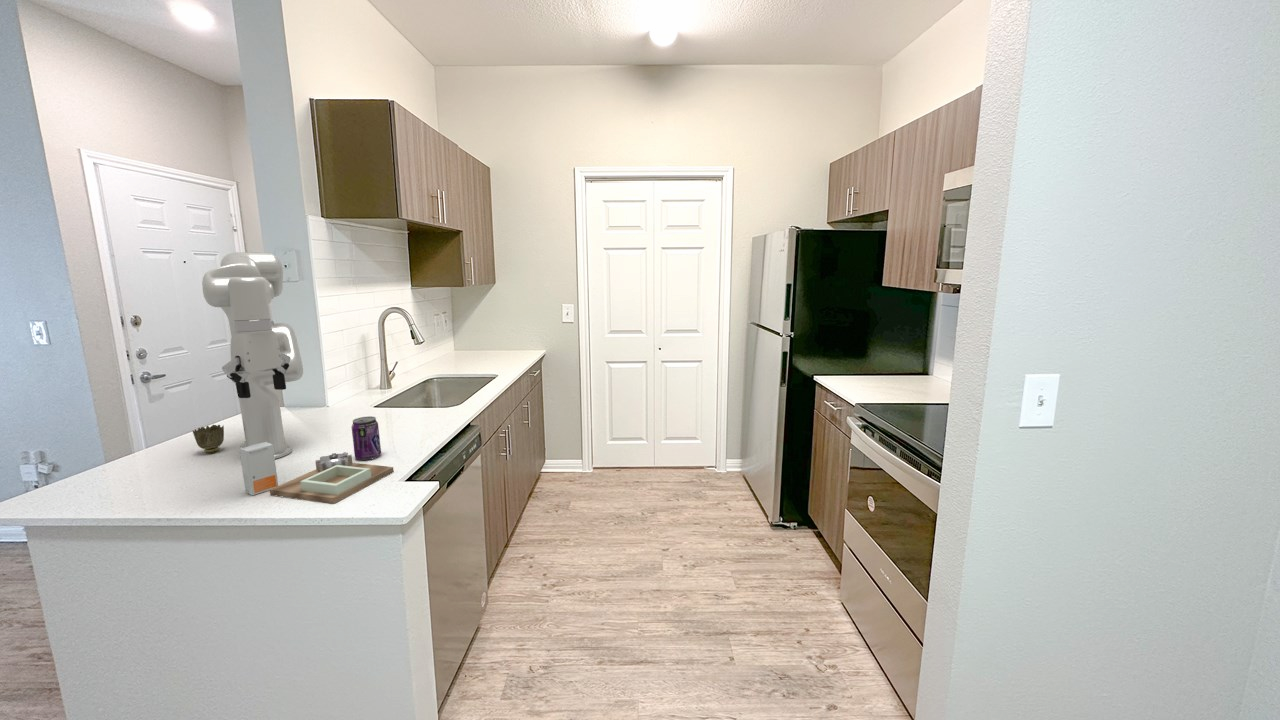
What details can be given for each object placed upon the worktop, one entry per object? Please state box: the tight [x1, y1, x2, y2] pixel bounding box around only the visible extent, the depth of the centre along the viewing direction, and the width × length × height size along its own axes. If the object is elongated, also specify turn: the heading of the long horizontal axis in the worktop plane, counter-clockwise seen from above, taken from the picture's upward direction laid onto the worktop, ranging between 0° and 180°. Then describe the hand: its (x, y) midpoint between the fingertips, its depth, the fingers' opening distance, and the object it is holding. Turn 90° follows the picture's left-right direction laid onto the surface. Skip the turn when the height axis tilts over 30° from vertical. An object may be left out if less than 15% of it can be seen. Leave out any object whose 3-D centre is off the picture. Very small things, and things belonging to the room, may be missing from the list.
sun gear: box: [314, 452, 353, 472], centre depth 140 cm, size 9×9×4 cm
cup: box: [192, 424, 225, 454], centre depth 157 cm, size 8×7×8 cm
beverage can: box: [351, 416, 382, 461], centre depth 151 cm, size 7×7×12 cm
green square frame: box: [300, 465, 371, 495], centre depth 129 cm, size 11×11×2 cm
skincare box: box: [239, 442, 279, 496], centre depth 129 cm, size 6×4×12 cm
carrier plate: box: [269, 462, 395, 505], centre depth 133 cm, size 20×20×2 cm
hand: (263, 393), depth 128 cm, fingers open, 9 cm apart
